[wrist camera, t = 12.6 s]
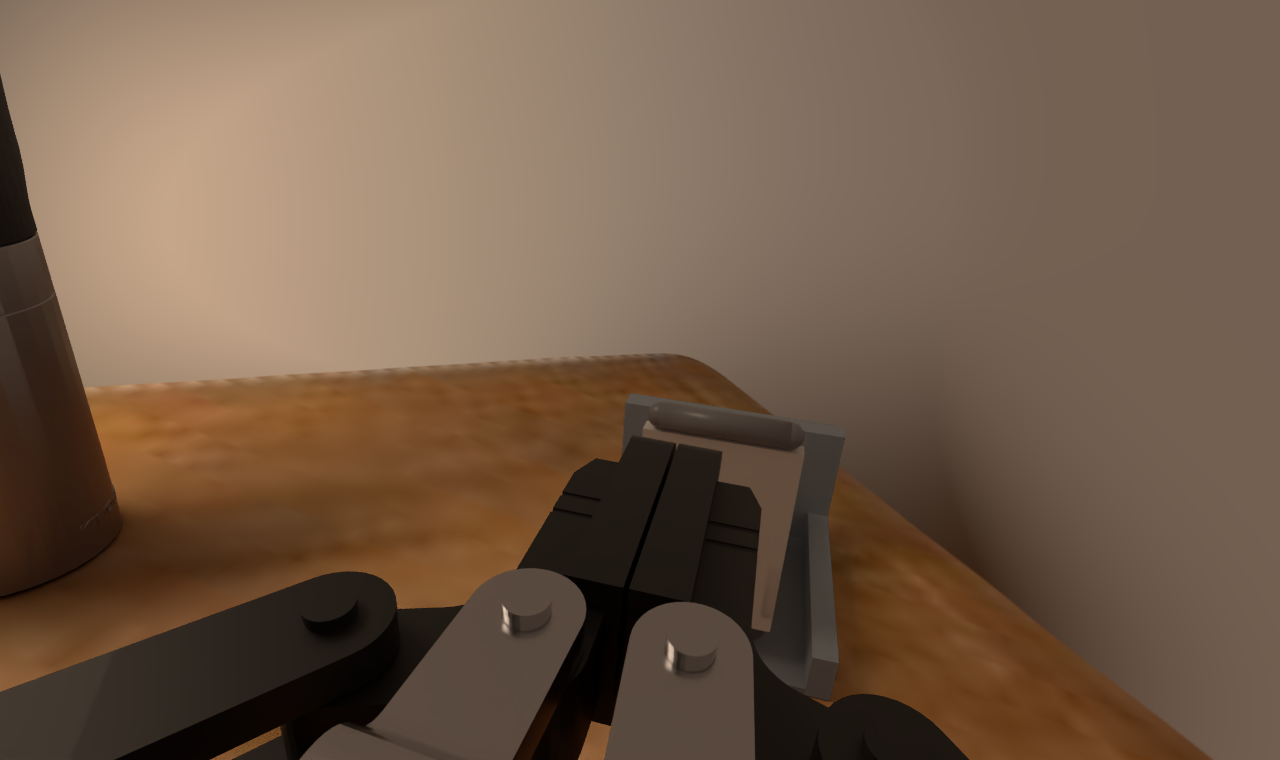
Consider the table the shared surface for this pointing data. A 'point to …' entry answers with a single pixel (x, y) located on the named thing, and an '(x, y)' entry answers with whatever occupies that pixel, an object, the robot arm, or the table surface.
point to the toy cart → (746, 477)
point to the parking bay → (793, 560)
